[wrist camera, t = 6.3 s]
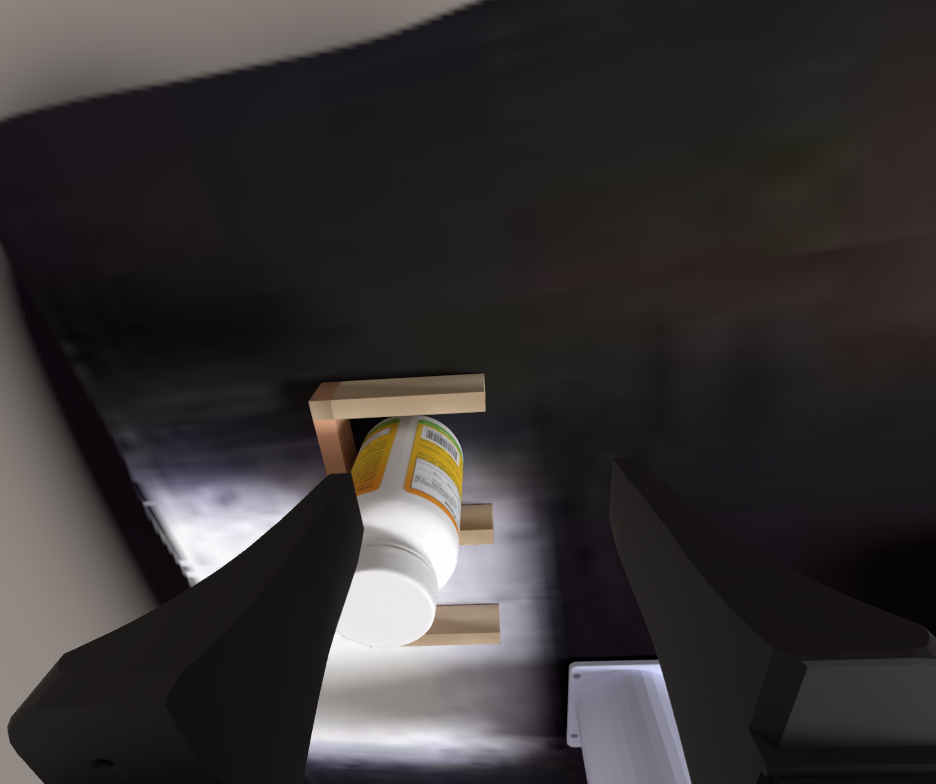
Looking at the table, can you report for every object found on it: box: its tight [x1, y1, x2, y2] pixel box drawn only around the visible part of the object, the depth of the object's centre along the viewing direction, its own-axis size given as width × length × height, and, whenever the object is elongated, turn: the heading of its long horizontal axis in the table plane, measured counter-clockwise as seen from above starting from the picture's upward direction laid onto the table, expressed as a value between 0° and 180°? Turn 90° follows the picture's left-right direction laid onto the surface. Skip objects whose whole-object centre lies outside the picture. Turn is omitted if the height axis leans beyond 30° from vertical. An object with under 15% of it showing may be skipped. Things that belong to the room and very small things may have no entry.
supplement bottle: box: [336, 415, 463, 648], centre depth 21 cm, size 5×5×10 cm
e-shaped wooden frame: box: [308, 373, 500, 646], centre depth 26 cm, size 17×8×2 cm, turn 4°
